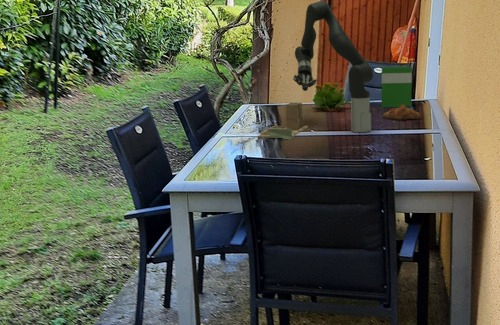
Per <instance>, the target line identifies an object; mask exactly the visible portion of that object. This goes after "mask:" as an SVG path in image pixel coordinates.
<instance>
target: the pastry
mask: <svg viewBox="0 0 500 325" xmlns="http://www.w3.org/2000/svg"><path fill="white" fill-rule="evenodd" d="M384 118H388V119H387V120H394V119H396V120H395V121H408V120H407V119H409V120H412V119H419V120H422V118H423V116H422V115H421V113H420V112H418V111H415V110H414V109H413V108H412V107H406V105H401V106H400V107H397V108H391V109H389V111H386V112H384V113H383V114H382V119H384Z"/></svg>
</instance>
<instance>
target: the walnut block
mask: <svg viewBox="0 0 500 325" xmlns="http://www.w3.org/2000/svg"><path fill="white" fill-rule="evenodd" d="M285 109H286V110H285V112H286V113H285V114H286V117H285V118H286V126H287V129H292V130H299V129H301V128H302V127H304V125H303V103H302V102H289V103H287V104H285Z"/></svg>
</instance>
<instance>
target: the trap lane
mask: <svg viewBox="0 0 500 325" xmlns="http://www.w3.org/2000/svg"><path fill="white" fill-rule="evenodd" d="M308 128H309V125H303V127H302V128H301V129H299V130H292V129H287V125H273V126H271V127H269V128H268V129H265V130H263V131H262V132H260V134H259V135H257V136H256V137H257V139H265V138H283V139H282V140H293V139H294V138H293V137H296V136H297V135H298V134H299V133H301V132H303V131H304V130H306V129H308ZM262 137H264V138H262ZM292 138H293V139H292Z"/></svg>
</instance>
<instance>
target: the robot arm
mask: <svg viewBox="0 0 500 325" xmlns="http://www.w3.org/2000/svg"><path fill="white" fill-rule="evenodd" d="M321 20H324V21H325V22H326V23H327V27H328V41H329V44H330V45H331V47H332V48H333V49H334V51H335V53H337V54H338V55H339V56H341V57H342V58H343V59H345V60H346V61H347V62H349V64H350V65H351V67H350V68H349V71H348V91H349V93H350V97H351V98H350V101H351V102H350V123H351V124H350V127H351V128H350V130H351V132H352V131H353V132H352V133H358V132H362V133H363V132H364V133H368V132H371V131H372V112H371V111H370V110H371V107H370V102H371V101H370V99H371V98H370V97H371V96H370V94H371V93H370V90H368V91H367V89H365V83H369V82H371V81H372V80H373V78H374V71H373V68H372V67H371V65H370V64H369V63H368V62H367V60H366V59H364V57H363V56H362V55H361V53H360V52H359V51H358V49H357V48H356V47H355V44H354V43H353V42H352V41H351V39H350V38H349V36H348V34H347V33H346V32H345V31H344V29H343V27H342V26H341V24H340V23H339V21H338V20H337V18H336V16H335V14H334V12H333V10H332V8H331V6H330V5H329V4H328V2H326V1H325V0H320V1H316V2H313V3H311V4H308V6H307V7H306V12H305V21H304V22H305V23H304V31H303V35H302V39H301V42H300V45H299V46H297V47H296V48H295V50H294V56H295V59H296V61H297V74H294V76H293V79H292V80H293V81H294V82H295V83H297V85H298V86H301V88H302V89H301V90H302V91H304V92H307V91H308V90H309V88H311V87H313V86H314V85H315V86H316V85H317V84H316V83H317V81H318V80H317V79H316V78H315V79H314V77H313V68H312V60H313V58H314V55H315V54H314V46H315V42H316V39H317V32H316V29H315V27H314V25H315V23H316V22H318V21H321ZM362 133H361V134H362ZM364 133H363V134H364Z"/></svg>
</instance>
